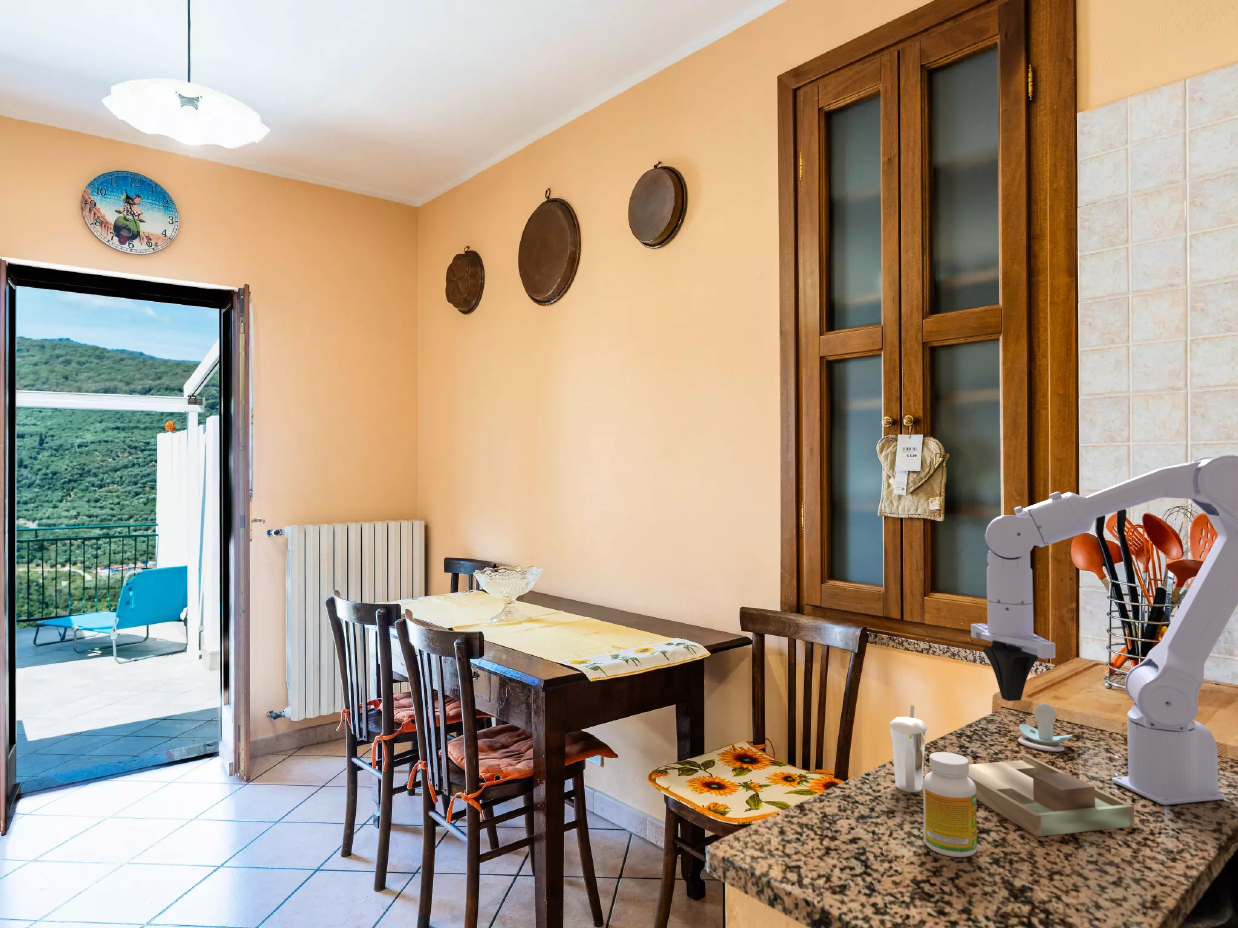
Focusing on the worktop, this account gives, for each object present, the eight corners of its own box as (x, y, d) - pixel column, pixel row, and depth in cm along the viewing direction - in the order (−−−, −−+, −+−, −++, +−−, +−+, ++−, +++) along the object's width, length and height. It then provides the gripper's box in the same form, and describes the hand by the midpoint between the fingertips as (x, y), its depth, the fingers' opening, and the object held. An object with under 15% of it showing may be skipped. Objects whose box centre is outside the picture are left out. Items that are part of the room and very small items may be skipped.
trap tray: (1026, 770, 106) (1026, 753, 106) (1134, 826, 89) (1133, 806, 89) (942, 777, 104) (942, 760, 104) (1036, 836, 86) (1036, 815, 87)
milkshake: (931, 783, 102) (930, 707, 102) (923, 797, 97) (922, 718, 98) (896, 776, 104) (895, 702, 105) (887, 789, 100) (886, 712, 100)
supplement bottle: (983, 860, 81) (981, 768, 81) (929, 855, 82) (928, 764, 82) (970, 837, 86) (969, 750, 87) (919, 833, 87) (918, 747, 88)
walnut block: (1065, 797, 94) (1065, 772, 94) (1095, 812, 89) (1094, 786, 89) (1033, 799, 93) (1033, 775, 93) (1061, 815, 88) (1061, 789, 88)
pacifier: (1061, 758, 112) (1076, 747, 116) (1059, 715, 112) (1075, 706, 116) (1009, 745, 117) (1026, 735, 121) (1008, 704, 117) (1025, 696, 121)
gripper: (951, 594, 113) (953, 687, 113) (1021, 610, 99) (1023, 716, 98) (994, 593, 114) (995, 684, 114) (1068, 608, 100) (1070, 713, 100)
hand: (1011, 699), depth 106 cm, fingers closed
